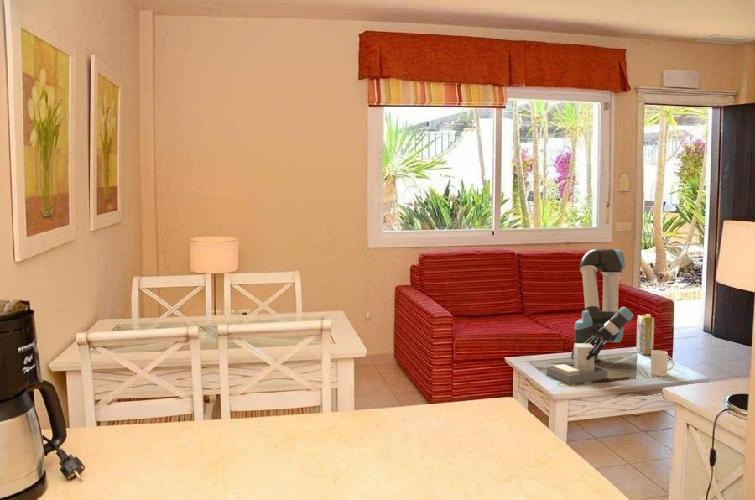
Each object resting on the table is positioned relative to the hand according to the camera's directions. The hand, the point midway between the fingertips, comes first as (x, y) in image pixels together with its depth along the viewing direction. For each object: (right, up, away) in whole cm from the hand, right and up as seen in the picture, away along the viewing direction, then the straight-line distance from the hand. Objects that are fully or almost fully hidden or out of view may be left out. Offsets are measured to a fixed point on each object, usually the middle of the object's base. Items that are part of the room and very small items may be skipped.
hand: (578, 360), depth 335 cm
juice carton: (+55, -4, +47) cm, 73 cm away
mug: (+46, -8, +4) cm, 47 cm away
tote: (-1, -9, -1) cm, 9 cm away
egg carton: (-8, -8, -3) cm, 12 cm away
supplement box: (+3, -7, +1) cm, 7 cm away
